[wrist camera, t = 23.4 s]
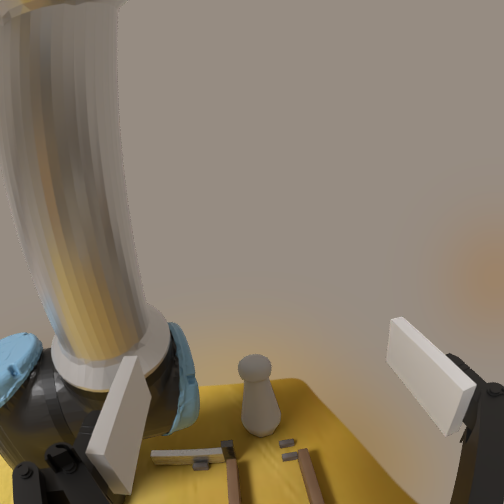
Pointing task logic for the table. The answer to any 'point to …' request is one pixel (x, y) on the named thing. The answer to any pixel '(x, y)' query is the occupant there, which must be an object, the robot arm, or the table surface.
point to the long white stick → (194, 455)
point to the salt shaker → (258, 396)
